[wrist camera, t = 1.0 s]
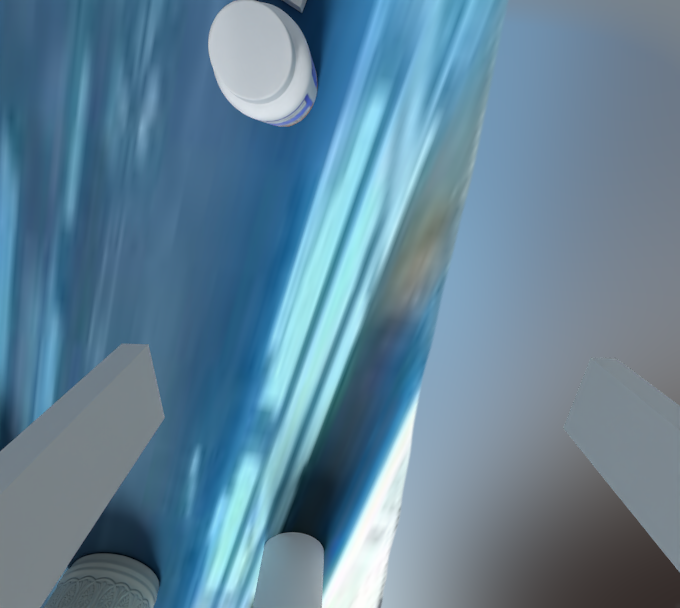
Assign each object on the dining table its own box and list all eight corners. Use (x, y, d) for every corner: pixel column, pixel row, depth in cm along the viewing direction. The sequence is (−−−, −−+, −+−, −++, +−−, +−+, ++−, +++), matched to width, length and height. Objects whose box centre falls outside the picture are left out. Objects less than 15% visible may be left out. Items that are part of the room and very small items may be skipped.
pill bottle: (250, 28, 24) (196, -45, 15) (326, 54, 24) (318, -2, 15) (238, 115, 26) (184, 96, 17) (308, 137, 26) (292, 129, 17)
